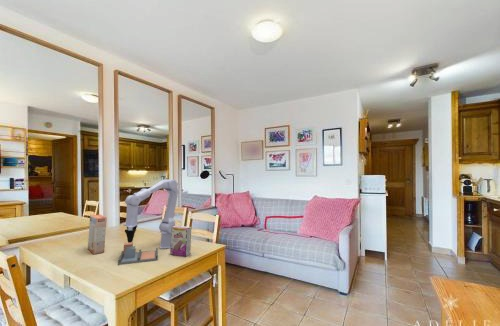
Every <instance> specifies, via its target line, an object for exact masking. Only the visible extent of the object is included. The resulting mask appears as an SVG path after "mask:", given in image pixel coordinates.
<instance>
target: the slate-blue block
mask: <svg viewBox="0 0 500 326" xmlns="http://www.w3.org/2000/svg"><path fill="white" fill-rule="evenodd" d="M135 253H136V245H135V246H134V245H133V246H132V247H126V250H125V253H124V254H125V259H129V258H134V257H135Z"/></svg>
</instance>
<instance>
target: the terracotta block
mask: <svg viewBox="0 0 500 326" xmlns="http://www.w3.org/2000/svg"><path fill="white" fill-rule="evenodd" d="M132 246H134V241H132V242H129V243H128V242H124V244H123V251H124V254H125V250H126V247H132Z"/></svg>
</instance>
